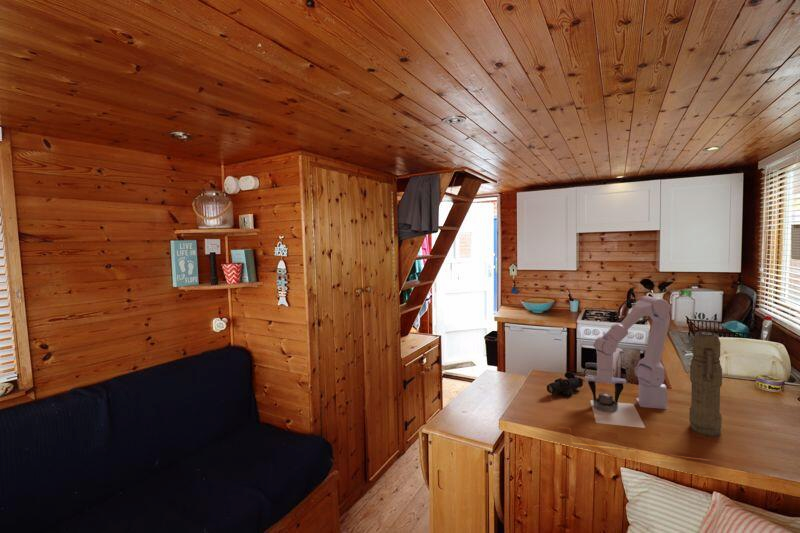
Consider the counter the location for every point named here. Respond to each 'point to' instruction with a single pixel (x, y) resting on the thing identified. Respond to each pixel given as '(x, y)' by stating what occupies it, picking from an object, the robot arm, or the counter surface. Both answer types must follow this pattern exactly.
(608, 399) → the cap
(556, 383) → the night vision scope
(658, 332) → the robot arm
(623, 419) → the mat
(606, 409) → the grey bowl
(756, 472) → the counter surface
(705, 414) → the brown tall rounded block
